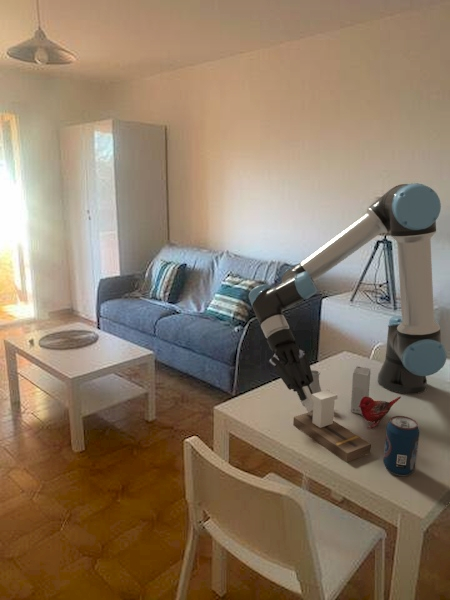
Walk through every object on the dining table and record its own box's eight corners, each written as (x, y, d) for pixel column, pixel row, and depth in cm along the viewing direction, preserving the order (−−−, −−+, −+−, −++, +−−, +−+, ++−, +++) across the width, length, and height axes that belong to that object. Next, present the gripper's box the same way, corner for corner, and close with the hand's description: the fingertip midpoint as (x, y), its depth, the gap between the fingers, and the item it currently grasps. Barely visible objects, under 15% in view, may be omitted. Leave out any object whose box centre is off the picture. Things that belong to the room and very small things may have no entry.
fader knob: (309, 422, 120) (311, 394, 119) (325, 417, 123) (327, 389, 121) (319, 428, 117) (321, 399, 116) (335, 423, 120) (337, 394, 118)
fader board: (293, 425, 125) (293, 416, 124) (315, 418, 129) (316, 409, 128) (346, 462, 108) (347, 452, 108) (370, 453, 112) (371, 443, 112)
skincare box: (365, 415, 131) (369, 375, 128) (349, 412, 133) (352, 373, 130) (368, 406, 136) (372, 368, 133) (353, 403, 138) (356, 365, 135)
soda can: (382, 457, 110) (387, 412, 107) (413, 463, 108) (418, 416, 106) (383, 474, 104) (388, 426, 101) (416, 480, 102) (422, 431, 99)
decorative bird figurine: (352, 431, 122) (355, 397, 120) (394, 414, 132) (397, 382, 129) (360, 436, 120) (363, 401, 117) (403, 418, 129) (406, 385, 127)
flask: (325, 409, 134) (327, 377, 132) (300, 407, 135) (301, 375, 133) (324, 398, 141) (327, 368, 139) (301, 396, 142) (302, 366, 140)
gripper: (290, 336, 139) (324, 409, 129) (254, 343, 132) (286, 421, 123) (302, 324, 133) (338, 400, 123) (265, 331, 127) (300, 411, 117)
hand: (312, 410), depth 123 cm, fingers closed
